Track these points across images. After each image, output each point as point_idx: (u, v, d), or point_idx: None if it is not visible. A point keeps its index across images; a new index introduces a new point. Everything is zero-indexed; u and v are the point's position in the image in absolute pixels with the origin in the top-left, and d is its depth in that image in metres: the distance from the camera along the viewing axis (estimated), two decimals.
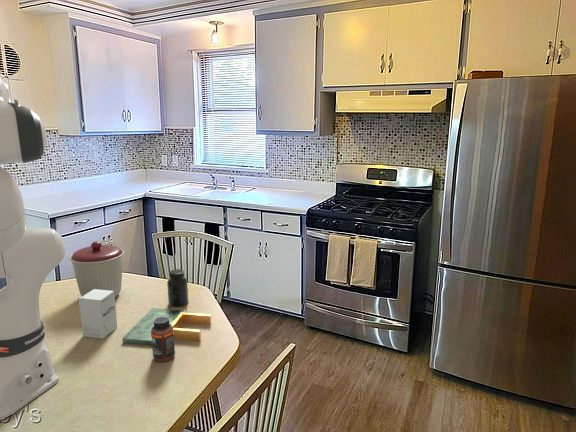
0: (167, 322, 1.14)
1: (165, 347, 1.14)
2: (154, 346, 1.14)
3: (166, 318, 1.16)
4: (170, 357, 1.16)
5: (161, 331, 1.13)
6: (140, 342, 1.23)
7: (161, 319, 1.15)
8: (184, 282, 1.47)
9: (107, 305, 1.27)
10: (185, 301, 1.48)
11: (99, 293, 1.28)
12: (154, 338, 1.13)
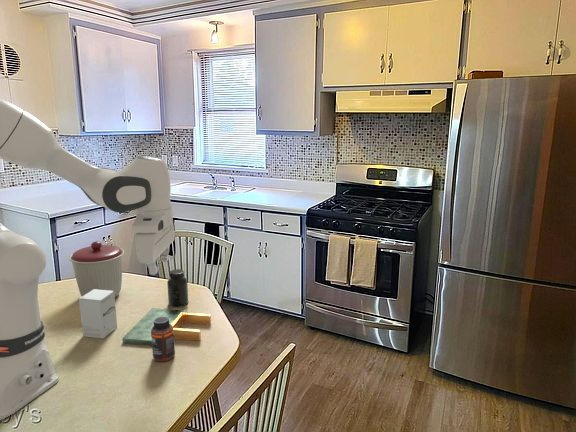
0: (167, 322, 1.14)
1: (165, 347, 1.14)
2: (154, 346, 1.14)
3: (166, 318, 1.16)
4: (170, 357, 1.16)
5: (161, 331, 1.13)
6: (140, 342, 1.23)
7: (161, 319, 1.15)
8: (184, 282, 1.47)
9: (107, 305, 1.27)
10: (185, 301, 1.48)
11: (99, 293, 1.28)
12: (154, 338, 1.13)
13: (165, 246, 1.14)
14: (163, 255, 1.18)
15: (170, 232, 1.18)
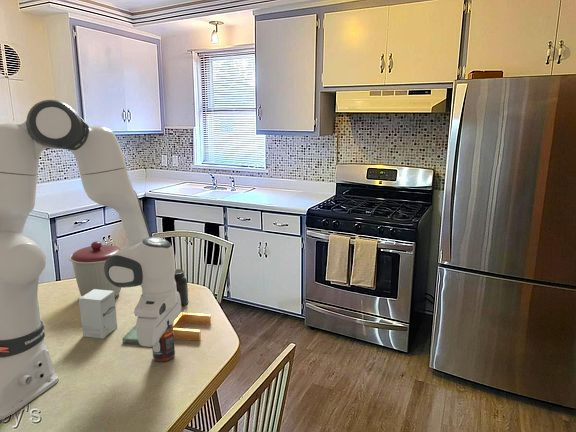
0: (167, 322, 1.14)
1: (165, 347, 1.14)
2: None
3: None
4: (170, 357, 1.16)
5: None
6: None
7: None
8: (184, 282, 1.47)
9: (107, 305, 1.27)
10: (185, 301, 1.48)
11: (99, 293, 1.28)
12: None
13: (169, 323, 1.16)
14: None
15: (176, 307, 1.20)
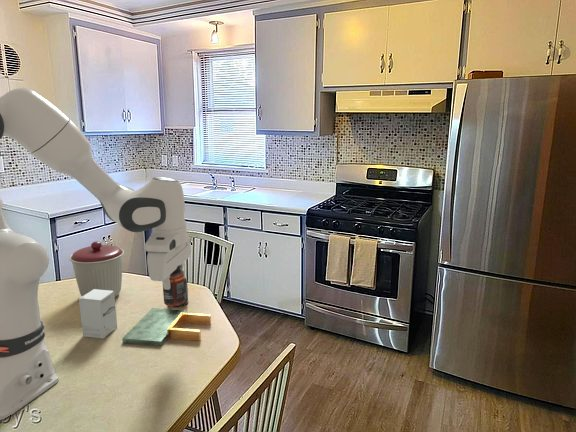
0: (178, 267, 1.16)
1: (176, 292, 1.16)
2: (165, 291, 1.16)
3: None
4: (181, 302, 1.18)
5: (172, 276, 1.15)
6: (140, 342, 1.23)
7: None
8: (184, 282, 1.47)
9: (107, 305, 1.27)
10: (185, 301, 1.48)
11: (99, 293, 1.28)
12: None
13: (179, 263, 1.17)
14: None
15: (186, 249, 1.22)
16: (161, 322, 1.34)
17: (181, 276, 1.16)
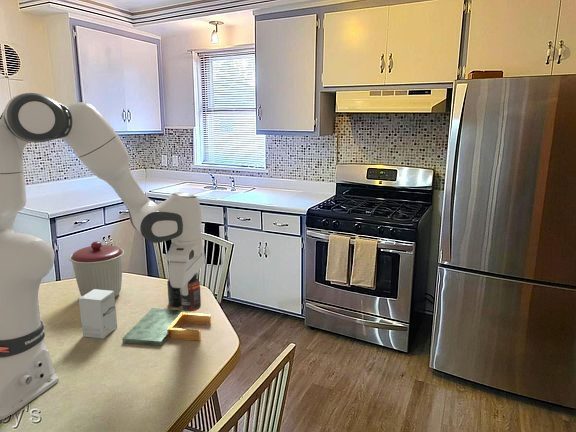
0: (195, 276, 1.27)
1: (193, 299, 1.27)
2: (183, 297, 1.27)
3: None
4: (197, 308, 1.28)
5: (190, 284, 1.26)
6: (140, 342, 1.23)
7: None
8: None
9: (107, 305, 1.27)
10: None
11: (99, 293, 1.28)
12: None
13: (195, 271, 1.28)
14: None
15: (200, 257, 1.32)
16: (161, 322, 1.34)
17: (198, 284, 1.27)
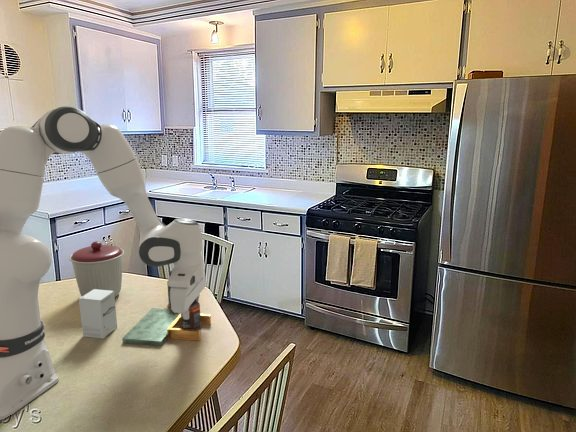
0: (195, 299, 1.29)
1: (193, 321, 1.28)
2: (183, 320, 1.28)
3: None
4: None
5: (190, 307, 1.27)
6: (140, 342, 1.23)
7: None
8: None
9: (107, 305, 1.27)
10: None
11: (99, 293, 1.28)
12: None
13: (196, 295, 1.30)
14: None
15: (201, 281, 1.34)
16: (161, 322, 1.34)
17: (198, 307, 1.29)
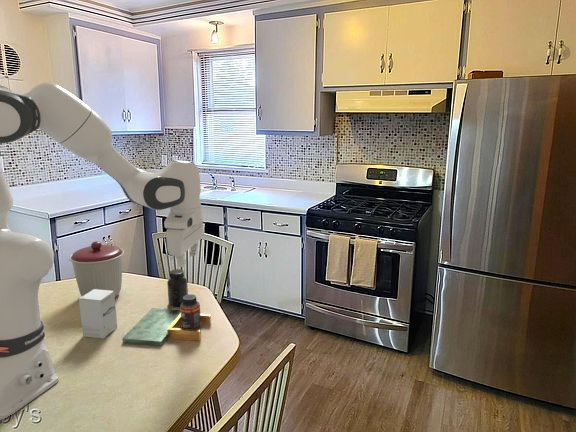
0: (195, 299, 1.29)
1: (193, 321, 1.28)
2: (183, 320, 1.28)
3: (194, 295, 1.30)
4: None
5: (190, 307, 1.27)
6: (140, 342, 1.23)
7: (189, 296, 1.29)
8: (184, 282, 1.47)
9: (107, 305, 1.27)
10: None
11: (99, 293, 1.28)
12: (183, 313, 1.28)
13: (194, 242, 1.25)
14: (192, 250, 1.30)
15: (199, 229, 1.30)
16: (161, 322, 1.34)
17: (198, 307, 1.29)
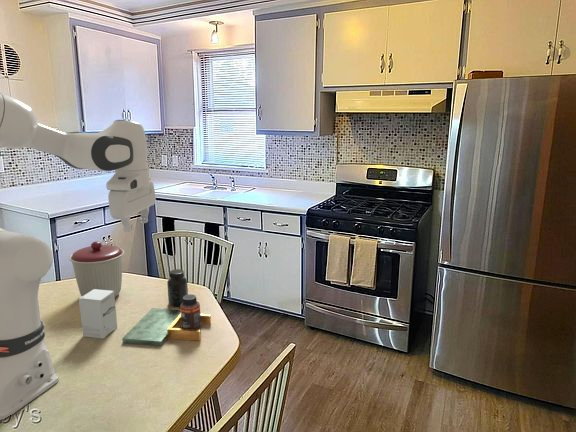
0: (195, 299, 1.29)
1: (193, 321, 1.28)
2: (183, 320, 1.28)
3: (194, 295, 1.30)
4: None
5: (190, 307, 1.27)
6: (140, 342, 1.23)
7: (189, 296, 1.29)
8: (184, 282, 1.47)
9: (107, 305, 1.27)
10: None
11: (99, 293, 1.28)
12: (183, 313, 1.28)
13: (142, 207, 1.21)
14: (142, 217, 1.25)
15: (149, 195, 1.25)
16: (161, 322, 1.34)
17: (198, 307, 1.29)
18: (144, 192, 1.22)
